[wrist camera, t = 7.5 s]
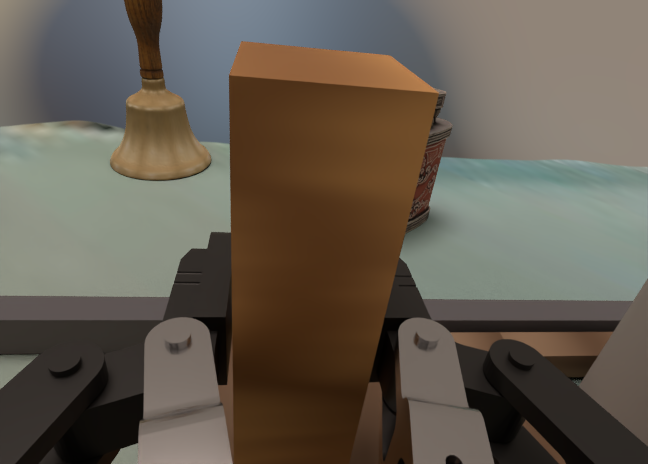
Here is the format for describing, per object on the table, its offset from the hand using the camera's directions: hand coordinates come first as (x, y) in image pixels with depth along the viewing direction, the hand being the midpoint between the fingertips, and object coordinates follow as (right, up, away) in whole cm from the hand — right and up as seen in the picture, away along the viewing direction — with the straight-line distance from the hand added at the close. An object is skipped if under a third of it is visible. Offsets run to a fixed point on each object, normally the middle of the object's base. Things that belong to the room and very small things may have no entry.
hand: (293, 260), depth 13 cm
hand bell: (-13, +7, +24) cm, 29 cm away
